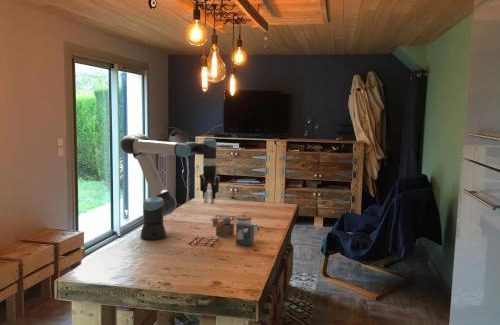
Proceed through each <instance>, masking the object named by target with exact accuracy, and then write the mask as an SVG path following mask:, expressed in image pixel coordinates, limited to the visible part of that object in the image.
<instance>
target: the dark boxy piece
mask: <svg viewBox="0 0 500 325" xmlns="http://www.w3.org/2000/svg"><path fill="white" fill-rule="evenodd" d="M254 225H255V224H252V223H251V224H246V223H238V224H236V223H235V226H236V228H235V230H236V232H235V233H236V234H235V245H237V246H243V247H249V248H251V247H253V246H254V245H255V244H254V243H255V234H254ZM243 228H248V237H247V238H245V239H243V240H241V239H237V233H238V232H239V230H240V229H241V230H244V229H243Z"/></svg>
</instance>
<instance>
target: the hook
mask: <svg viewBox="0 0 500 325" xmlns="http://www.w3.org/2000/svg"><path fill="white" fill-rule="evenodd" d="M253 225H254V235H255V234H257V233H259V232H260V225H257V224H253ZM247 237H248V228H246V229H243V230H241V229H240V230H239V232H238V233H237V239H241V240H243V239H245V238H247Z"/></svg>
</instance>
